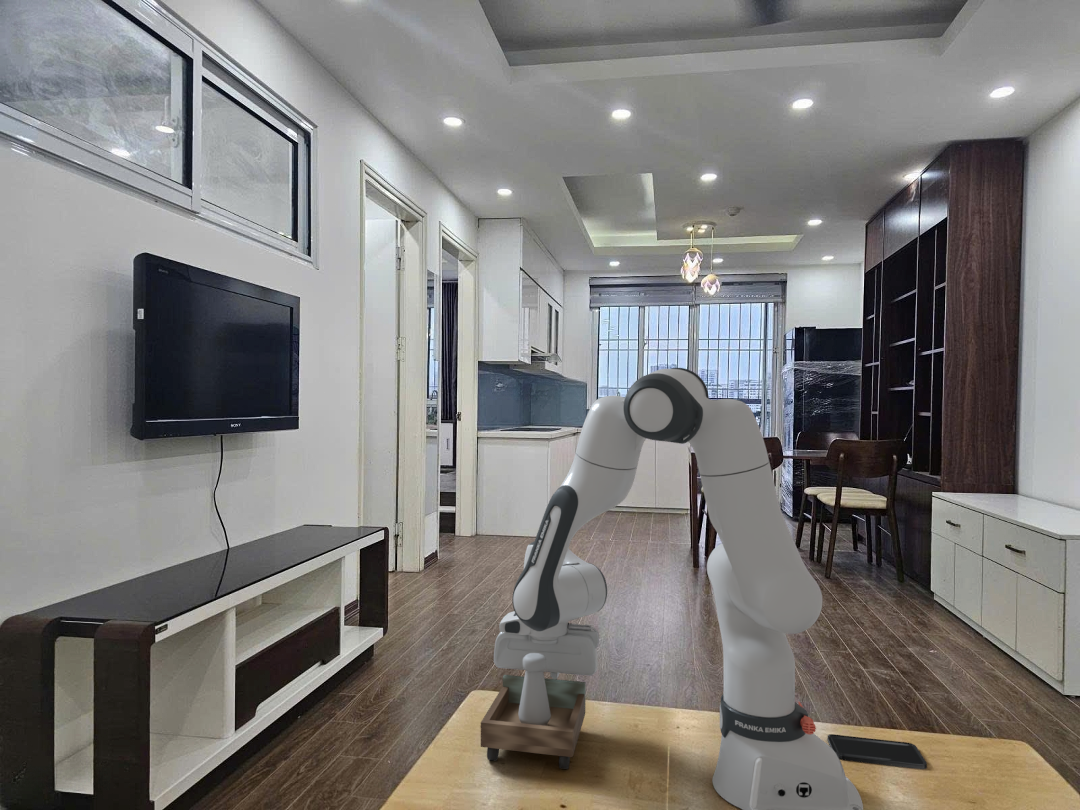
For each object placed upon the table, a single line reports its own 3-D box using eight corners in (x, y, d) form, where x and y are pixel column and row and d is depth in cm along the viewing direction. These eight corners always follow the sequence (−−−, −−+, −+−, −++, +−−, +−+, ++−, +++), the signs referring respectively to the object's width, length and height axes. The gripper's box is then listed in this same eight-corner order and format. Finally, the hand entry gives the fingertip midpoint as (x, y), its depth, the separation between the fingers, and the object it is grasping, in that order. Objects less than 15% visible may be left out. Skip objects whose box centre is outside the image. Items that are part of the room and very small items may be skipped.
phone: (826, 733, 125) (914, 743, 122) (826, 739, 125) (914, 749, 122) (835, 755, 118) (929, 766, 114) (834, 761, 118) (929, 772, 114)
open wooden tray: (585, 729, 127) (585, 682, 127) (572, 775, 112) (572, 721, 112) (504, 720, 131) (504, 674, 130) (480, 764, 115) (480, 712, 115)
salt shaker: (535, 717, 123) (535, 646, 123) (557, 728, 119) (557, 655, 119) (511, 727, 119) (511, 655, 119) (533, 739, 115) (534, 664, 115)
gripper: (601, 620, 131) (600, 690, 131) (499, 613, 135) (499, 681, 135) (597, 631, 124) (596, 705, 125) (491, 623, 129) (491, 694, 129)
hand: (545, 692), depth 130 cm, fingers closed
